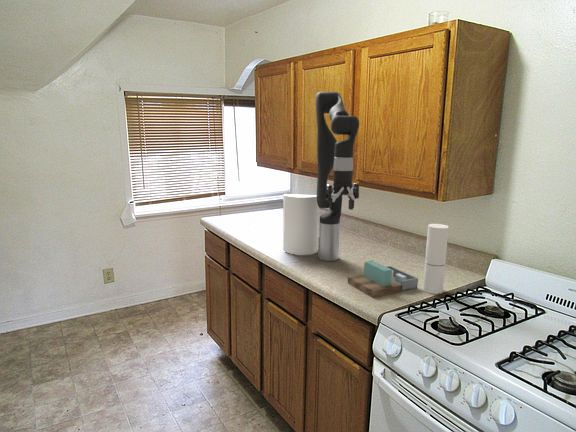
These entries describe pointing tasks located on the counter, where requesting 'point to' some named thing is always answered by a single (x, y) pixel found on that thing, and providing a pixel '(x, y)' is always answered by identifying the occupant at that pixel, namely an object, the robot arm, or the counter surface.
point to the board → (373, 286)
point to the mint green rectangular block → (377, 273)
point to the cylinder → (300, 224)
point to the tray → (406, 284)
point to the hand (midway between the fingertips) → (341, 210)
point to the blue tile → (399, 278)
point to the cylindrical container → (435, 258)
